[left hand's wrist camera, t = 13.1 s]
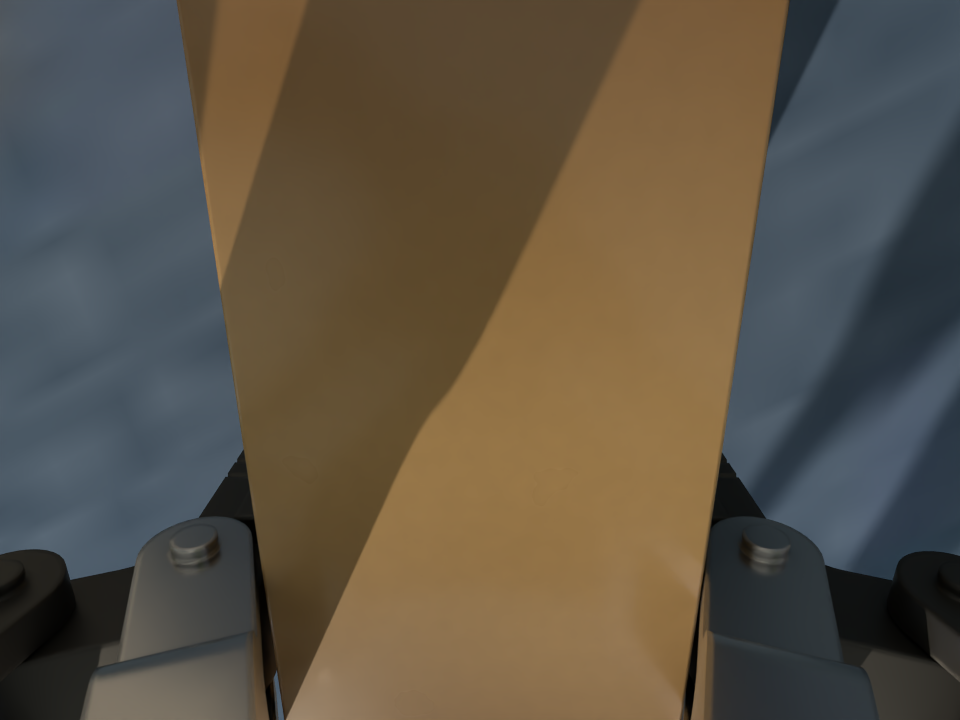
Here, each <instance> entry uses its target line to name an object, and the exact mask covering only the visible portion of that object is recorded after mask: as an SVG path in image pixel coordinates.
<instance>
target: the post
mask: <svg viewBox="0 0 960 720" xmlns="http://www.w3.org/2000/svg"><path fill="white" fill-rule="evenodd" d="M789 2H790V0H177V6H178V13H179V19H180V26H181V33H182V39H183V46H184V53H185V60H186V66H187V73H188V80H189V86H190V93H191V100H192V106H193V113H194V120H195V126H196V133H197V140H198V146H199V153H200V160H201V166H202V173H203V180H204V186H205V193H206V200H207V206H208V213H209V220H210V226H211V233H212V240H213V246H214V253H215V260H216V266H217V273H218V280H219V286H220V293H221V300H222V306H223V313H224V320H225V326H226V333H227V340H228V346H229V353H230V360H231V366H232V373H233V380H234V386H235V393H236V400H237V407H238V413H239V420H240V427H241V433H242V440H243V447H244V453H245V460H246V467H247V473H248V480H249V487H250V493H251V500H252V507H253V513H254V520H255V527H256V533H257V540H258V547H259V553H260V560H261V567H262V573H263V580H264V587H265V593H266V600H267V607H268V613H269V620H270V627H271V633H272V640H273V647H274V653H275V660H276V667H277V673H278V680H279V687H280V693H281V700H282V707H283V713H284V720H682V713H683V707H684V700H685V693H686V687H687V680H688V673H689V667H690V660H691V653H692V647H693V640H694V633H695V627H696V620H697V614H698V607H699V600H700V594H701V587H702V580H703V574H704V567H705V560H706V554H707V547H708V540H709V534H710V527H711V520H712V514H713V507H714V501H715V494H716V487H717V481H718V474H719V467H720V461H721V454H722V447H723V441H724V434H725V427H726V421H727V414H728V407H729V401H730V394H731V388H732V381H733V374H734V368H735V361H736V354H737V348H738V341H739V334H740V328H741V321H742V314H743V308H744V301H745V295H746V288H747V281H748V275H749V268H750V261H751V255H752V248H753V241H754V235H755V228H756V221H757V215H758V208H759V201H760V195H761V188H762V182H763V175H764V168H765V162H766V155H767V148H768V142H769V135H770V128H771V122H772V115H773V108H774V102H775V95H776V88H777V82H778V75H779V69H780V62H781V55H782V49H783V42H784V35H785V29H786V22H787V15H788V9H789Z"/></svg>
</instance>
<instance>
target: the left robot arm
mask: <svg viewBox="0 0 960 720" xmlns="http://www.w3.org/2000/svg"><path fill="white" fill-rule="evenodd" d="M276 670H277V667H276V660H275V653H274V647H273V640H272V633H271V627H270V620H269V613H268V607H267V600H266V593H265V587H264V580H263V573H262V567H261V560H260V553H259V547H258V540H257V533H256V527H255V520H254V513H253V507H252V500H251V493H250V487H249V480H248V473H247V467H246V460H245V453H244V450H243V451H242V453H241V454H240V456H239V457H238V459H237V462H235V463H234V465H233V466H232V468H231V469H230V471H229V473H228V477H225V479H224V480H223V482H222V483H221V485H220V486H219V488H218V489H217V491H216V492H215V494H214V495H213V497H212V498H211V500H210V501H209V503H208V504H207V506H206V507H205V509H204V511H203V512H202V514H201V515H200V517H199V518H196V519H191V520H187V521H184V522H181V523H178V524H176V525H173V526H171V527H169V528H167V529H165V530H163V531H161V532H160V533H158V534H157V535H155V536H154V537H153V538H151V539H150V540H149V541H148V542H147V543H146V544H145V545H144V546H143V547H142V549H141V550H140V552H139V553H138V556H137V559H136V563H135V566H133V567H129V568H125V569H121V570H117V571H112V572H107V573H102V574H97V575H93V576H88V577H83V578H78V579H73V580H70V578H69V574H68V571H67V567H66V564H65V561H64V559H63V558H62V557H61V556H60V555H58V554H56V553H54V552H51V551H47V550H39V549H31V550H20V551H14V552H9V553H5V554H2V555H0V720H278V708H277V695H276V688H275V681H274V676H275V673H276ZM682 720H960V556H958V555H954V554H949V553H944V552H934V551H922V552H915V553H911V554H908V555H906V556H904V557H903V558H902V559H901V560H900V561H899V562H898V565H897V568H896V571H895V574H894V578H893V581H892V580H887V579H882V578H878V577H873V576H868V575H863V574H858V573H853V572H848V571H844V570H840V569H836V568H832V567H829V566H826V565H825V563H824V559H823V556H822V553H821V552H820V550H819V549H818V547H817V546H816V545H815V544H814V543H813V542H812V541H811V540H810V539H809V538H807V537H806V536H805V535H803V534H802V533H800V532H799V531H797V530H795V529H793V528H791V527H789V526H787V525H784V524H782V523H779V522H776V521H773V520H769V519H766V518H765V516H764V515H763V513H762V512H761V510H760V509H759V507H758V506H757V504H756V503H755V501H754V500H753V498H752V497H751V495H750V494H749V492H748V491H747V489H746V488H745V486H744V485H743V483H742V482H741V480H740V479H739V478H736V473H735V471H734V470H733V468H732V467H731V465H730V464H729V463H727V459H726V458H725V456H724V455H723V453H722V454H721V461H720V467H719V474H718V481H717V487H716V494H715V501H714V507H713V514H712V520H711V527H710V534H709V540H708V547H707V554H706V560H705V567H704V574H703V580H702V587H701V594H700V600H699V607H698V614H697V620H696V627H695V633H694V640H693V647H692V653H691V660H690V667H689V673H688V680H687V687H686V693H685V700H684V707H683V713H682Z"/></svg>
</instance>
